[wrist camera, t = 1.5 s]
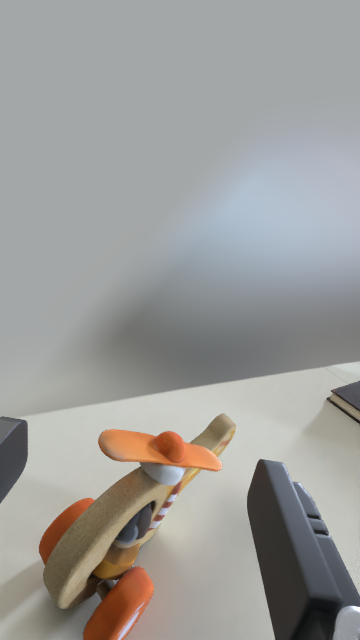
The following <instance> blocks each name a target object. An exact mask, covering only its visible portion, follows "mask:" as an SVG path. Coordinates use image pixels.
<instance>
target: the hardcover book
mask: <svg viewBox="0 0 360 640" xmlns="http://www.w3.org/2000/svg"><path fill="white" fill-rule="evenodd" d="M331 392H332V393H333V394H332V395H331V397H328V398H327V400H328V401H330V402H331V403H333V404H334V405H335V406H337V407H338V408H339V409H341V410H342V411H343V412H345V413H346V414H347V415H349V416H350V417H351V418H353V419H354V420H355V421H357V422H358V423H360V381H358V382H355V383H352V384H349V385H346V386H343V387H339V388H336V389H333V390H331Z"/></svg>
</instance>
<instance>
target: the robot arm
mask: <svg viewBox="0 0 360 640" xmlns="http://www.w3.org/2000/svg"><path fill="white" fill-rule="evenodd" d="M27 457H28V425H27V422H26V420H21V419H15V418H9V417H0V503H1V502H2V501H3V499H4V498H5V496H6V495H7V494H8V492H9V491H10V489H11V488H12V487H13V485H14V484H15V483H16V481H17V480H18V478H19V477H20V475H21V474H22V472H23V470H24V468H25V465H26V462H27ZM247 510H248V516H249V521H250V525H251V530H252V534H253V539H254V544H255V548H256V553H257V557H258V562H259V567H260V571H261V576H262V580H263V585H264V589H265V594H266V599H267V603H268V608H269V612H270V617H271V622H272V626H273V631H274V635H275V640H360V596H359V594H358V592H357V590H356V587H355V585H354V583H353V581H352V579H351V577H350V575H349V573H348V571H347V569H346V567H345V565H344V563H343V561H342V559H341V556H340V554H339V552H338V550H337V548H336V546H335V544H334V542H333V540H332V538H331V536H329V532H328V530H327V527H326V525H325V523H324V521H323V520H321V515H320V513H319V511H318V509H317V507H316V505H315V503H314V501H313V499H312V497H311V496H310V495H309V494H308V493H307V491H306V490H305V489H304V488H303V487H302V486H301V484H300V483H297V482H292V480H291V478H290V476H289V473H288V471H287V469H286V467H285V465H284V464H283V463H282V462H275V461H269V460H263V459H260V460H259V461H258V463H257V466H256V469H255V472H254V475H253V478H252V482H251V485H250V488H249V491H248V496H247Z"/></svg>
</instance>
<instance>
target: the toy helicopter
mask: <svg viewBox="0 0 360 640" xmlns="http://www.w3.org/2000/svg"><path fill="white" fill-rule="evenodd" d="M235 431H236V424H235V423H234V422H233V421H232V420H231V419H230V418H229V417H228V416H226V415H225V414H220V415H219V416H217V417H216V418H215V419H214V420H213V421H212V422H211V423H210V424H209V426H208V427H207V428H206V430H205V431H204V432H202V433H201V434H200V435H199V436H198V437H196V438H195V439H194V440H193V441H191V442H190V443H184V442H183V440H182V438H181V437H180V436H179V435H178V434H177V433H174V432H171V431H167V432H163V433H161V434H160V435H158V437H157V436H153V435H149V434H145V433H139V432H131V431H124V430H115V429H111V430H106V431H104V432H102V433H101V435H100V437H99V440H98V443H99V447H100V449H101V451H102V452H103V453H104V454H105V455H106V456H108V457H109V458H111V459H113V460H116V461H121V462H140V465H141V466H140V467H139V468H137V469H135V470H134V471H132V472H131V473H129V474H128V475H126V476H125V477H123V478H122V479H120V480H119V481H118V482H116V483H115V484H114V485H112V486H111V487H110V488H109V489H108V490H107V491H105V492H104V493H103V494H102V495H101V496H100V497H99V498H98V499H97V500H93V499H91V498H86V499H82V500H80V501H78V502H76V503H74V504H73V505H71V506H70V507H68V508H67V509H66V510H65V511H63V512H62V513H61V514H60V515H59V516H58V517H57V518H56V519H55V520H54V521H53V523H52V524H51V525H50V526H49V527H48V529H47V530H46V531H45V533H44V534H43V536H42V539H41V541H40V545H39V553H40V555H41V557H42V560H43V562H44V564H45V569H44V573H43V578H44V583H45V585H46V587H47V589H48V591H49V593H50V595H51V597H52V599H53V601H54V603H55V604H56V606H57V607H59V608H61V609H68V608H71V607H73V606H75V605H77V604H79V603H81V602H82V601H84V600H85V599H87V598H89V597H91V596H92V595H93V594H94V593H95V592H97V593H98V595H99V596H100V598H101V600H102V602H101V603H100V604H99V605H98V607H97V608H96V609H95V611H94V613H93V615H92V616H91V618H90V619H89V621H88V623H87V625H86V627H85V629H84V633H83V640H124V639H125V637H126V636H127V635H128V633H129V632H130V631H131V629H132V628H133V626H134V625H135V623H136V622H137V620H138V619H139V617H140V616H141V614H142V613H143V611H144V610H145V608H146V606H147V605H148V603H149V601H150V599H151V597H152V595H153V592H154V586H153V583H152V581H151V579H150V578H149V576H148V575H147V574H146V572H145V570H144V569H143V568H141V567H139V566H137V567H134V568H132V564H133V563H134V561H135V559H136V557H137V555H138V552H139V547H140V546H141V545H143V544H144V543H145V542H146V541H148V540H149V539H150V538H151V537H152V536H153V535H154V534H155V533H156V531H157V530H158V528H159V527H160V525H161V522H162V519H163V517H164V516H165V514H166V512H167V511H168V509H169V508H170V507H171V505H172V503H173V502H174V500H175V499H176V497H177V496H178V495H179V493H180V492H181V491H182V490H183V489H184V487H185V486H186V485H187V484H188V483H189V482H190V481H191V480H192V479H193V478H194V477H195V476H196V475H197V474H198V473H199V472H200V471H201V470H202V469H203V470H209V471H220V470H221V469H222V463H221V461H220V460H219V458H218V456H219V455H220V454H221V453H222V452H223V450H224V449H225V448H226V446H227V445H228V444H229V442H230V440H231V439H232V437H233V435H234V433H235ZM119 578H120V579H119ZM117 579H119V581H118V582H117V583H116V582H115V580H117Z"/></svg>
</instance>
